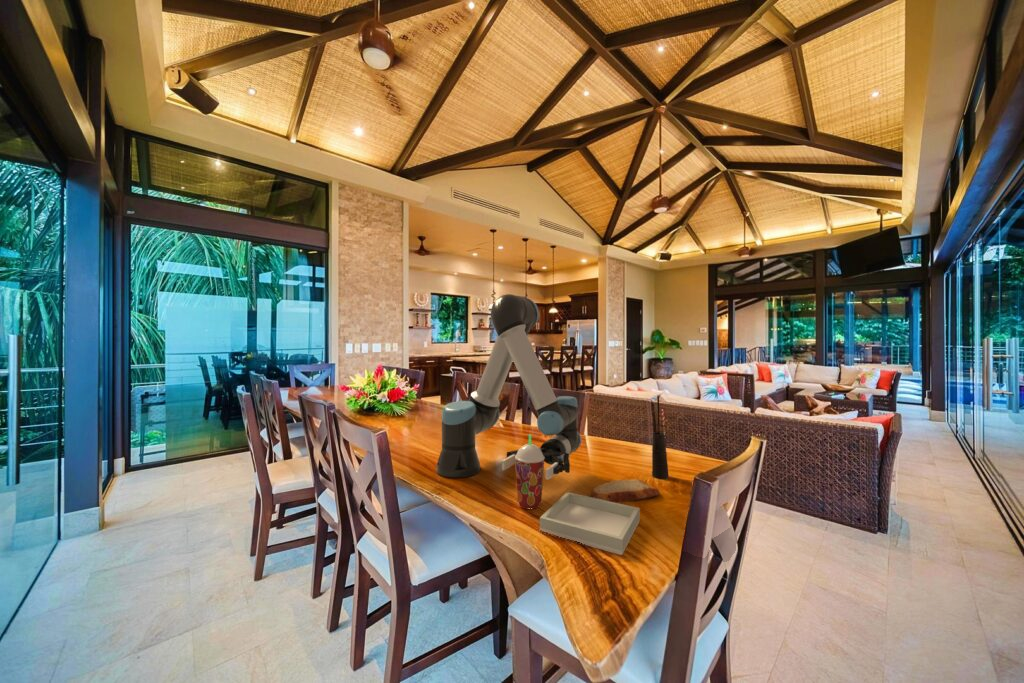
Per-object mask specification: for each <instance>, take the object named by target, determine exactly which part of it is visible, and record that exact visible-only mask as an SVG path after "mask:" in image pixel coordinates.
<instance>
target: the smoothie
mask: <svg viewBox="0 0 1024 683" xmlns="http://www.w3.org/2000/svg"><path fill="white" fill-rule="evenodd" d="M517 450H518V452H517V454H516V455H515V464H514V465H515V481H516V485H515V486H516V501H517V503H518V504H519V505H520V506H522V507H524V508H523V509H525V508H530V509H529V510H532V509H531V508H535V509H537V508H539V507H540V503H541V502H542V496H543V495H542V494H543V482H544V470H545V461H544V459H545V457H544V455H543V453H542V451H541V450H540V446H537V445H536V444H533V443H532V434H531V433H529V434H528V443H526V444H524V445H522V446H521V447H520V448H519V449H517ZM520 506H519V507H520ZM538 506H539V507H538ZM522 507H521V508H522Z"/></svg>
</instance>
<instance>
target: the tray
mask: <svg viewBox="0 0 1024 683" xmlns="http://www.w3.org/2000/svg"><path fill="white" fill-rule="evenodd" d="M640 510H641V509H640V507H636V506H633V505H632V506H631V505H628V504H622V503H619V502H610V501H605V500H601V499H596V498H592V497H591V496H587V495H582V494H577V493H574V492H566V493H565V494H563V495H562V496H561V497H560V498H559V499H558V500H557V501H556V502H555V503H554V504H553V505H551V507H549V508H548V509H547V510H545V512H544V513H543V514H542V515H541V516H540V517H539V531H540V530H542V531H544V532H548V533H551V534H554V535H557V536H559V537H558V538H560V537H563V538H566V539H565V540H567V539H570V540H574V541H577V542H580V543H579V544H581V543H582V544H581V545H584V544H585V545H584V546H588V547H592V548H595V549H599V550H601V551H606V552H608V553H612V554H616V555H620V556H623V554H624V553H625V550H626V548H627V546H628V544H629V542H630V541H631V538H632V537H633V534H634V533H635V531H636V529H637V528H638V525H639V523H640V522H641V521H640V516H641V514H640V512H641V511H640ZM563 538H562V539H563ZM570 540H569V541H570ZM574 541H573V542H574ZM577 542H576V543H577Z"/></svg>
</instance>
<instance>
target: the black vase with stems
mask: <svg viewBox="0 0 1024 683" xmlns="http://www.w3.org/2000/svg"><path fill="white" fill-rule="evenodd" d="M656 403H657V432H656V431H655V432H652V438H651V440H652V443H651V444H652V446H651V450H652V451H651V452H652V453H651V454H652V456H651V457H652V459H651V461H652V462H651V463H652V465H651V466H652V467H651V468H652V474H651V475H652V477H653V478H655V479H659V480H664V479H665V480H666V479H668V478H669V466H668V455H667V446H666V437H665V433H663V432H662V430H660V426H661V425H660V396H659V394H658V395H657V402H656Z"/></svg>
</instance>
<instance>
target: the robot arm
mask: <svg viewBox="0 0 1024 683" xmlns="http://www.w3.org/2000/svg"><path fill="white" fill-rule="evenodd" d="M490 319H491V321H492V325H493V328H494V330H495V333H496V335H497V337H496V339H495V341H494V344H493V347H492V350H491V352H490V354H489V357H488V360H487V363H486V365H485V368H484V369H483V374H482V376H481V378H480V381H479V384H478V387H477V389H476V390H474V391H472V392H471V393H470V396H469V398H468V400H458V401H457V400H456V401H452V402H448V403H447V404H445V405H444V406H443V407H442V412H441V413H442V414H441V419H440V420H441V450H440V453H439V456H438V459H437V462H436V473H437V474H438V475H440V476H442V477H445V478H452V479H455V478H457V479H459V478H468V477H472V476H474V475H476V474H478V473H479V472H480V471H481V462H480V460H479V456H478V452H477V450H476V435H478V434H481V433H483V432H486V431H488V430H490V429H491V428H493V427H494V426H495V425H496V424H497V422H498V421H499V418H500V409H499V408H500V405H501V402H500V399H499V397H500V395H501V392H502V389H503V386H504V384H505V382H506V379H507V377H508V374H509V372H510V370H511V367H512V363H514V366H515V369H516V370H517V372H518V374H519V377H520V379H521V381H522V384H523V385H524V387H525V390H526V392H527V394H528V396H529V398H530V400H531V402H532V405H533V407H534V409H535V412H536V413H537V416H538V417H537V419H536V420H537V425H536V427H537V428H538V430H539V432H541V433H542V434H543V435H545V436H549V437H551V438H549V439H547V440H546V441H544V442H542V444H541V446H539V448H540V450H541V451H542V453H543V455H544V457H545V459H544V463H546V464H547V465H549V466H548V467H547V468H546V469H545V480H547V481H548V480H550V479H551V478H552V477H554V476H555V475H558V474H560V473H563V471H564V472H565V473H567V474H569V473H571V471H570V469H571V468H570V465H571V463H570V455H571V454H573V453H575V452H576V451H578V449H579V448H580V447H581V445H582V436H581V434H580V432H579V430H578V427H579V426H578V424H579V423H578V422H579V421H578V419H579V418H578V416H579V415H578V411H579V410H578V409H579V406H578V399H577V397H574V396H570V395H569V396H568V395H562V396H561V395H560V396H557V397H556V395H555V393H554V391H553V390H554V389H553V388H552V385H551V383H550V382H549V379H548V377H547V376H546V373H545V371H544V369H543V367H542V365H541V363H540V360H539V359H538V356H537V355H536V352H535V350H534V348H533V345H532V343H531V341H530V339H529V337H528V335H529V332H530V330H531V329H532V328H534V327H535V326H536V325H537V323H538V321H539V319H540V310H539V308H538V305H537V303H535V301H533V300H532V299H530V298H528V297H527V296H526V297H525V296H521V295H516V294H515V295H514V294H511V293H510V294H509V293H507V294H503V295H500V296H499V297H497V299H495V301H494V302H493V303H492V306H491V310H490ZM518 450H519V449H516V450H511V451H506V457H505V458H504V459H502V460H501V471H506V470H508V469H509V468H511V467H512V466H514V465H515V455H516V454H517V452H518Z"/></svg>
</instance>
